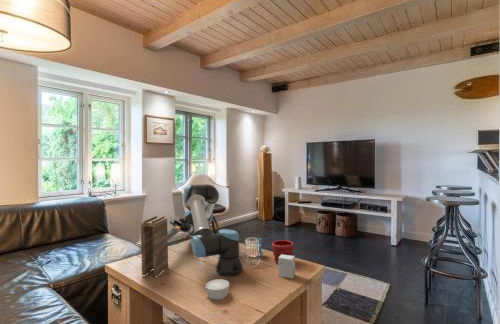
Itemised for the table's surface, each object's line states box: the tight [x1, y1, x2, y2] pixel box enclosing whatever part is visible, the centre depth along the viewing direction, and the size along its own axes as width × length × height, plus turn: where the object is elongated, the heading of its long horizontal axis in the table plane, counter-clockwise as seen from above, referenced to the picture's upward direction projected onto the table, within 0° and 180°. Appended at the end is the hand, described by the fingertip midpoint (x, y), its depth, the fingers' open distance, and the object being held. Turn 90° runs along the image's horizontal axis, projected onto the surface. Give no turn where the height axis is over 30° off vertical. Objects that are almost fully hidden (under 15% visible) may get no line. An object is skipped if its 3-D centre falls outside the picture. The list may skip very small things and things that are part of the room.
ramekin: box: [205, 278, 230, 301], centre depth 126 cm, size 11×11×5 cm
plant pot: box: [271, 239, 294, 264], centre depth 164 cm, size 13×13×12 cm
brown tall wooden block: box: [140, 215, 169, 277], centre depth 152 cm, size 9×13×31 cm
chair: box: [252, 236, 263, 258], centre depth 175 cm, size 8×8×12 cm
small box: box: [277, 254, 296, 279], centre depth 145 cm, size 8×6×10 cm
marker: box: [167, 226, 181, 241], centre depth 172 cm, size 3×21×3 cm, turn 170°
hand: (173, 218), depth 176 cm, fingers open, 5 cm apart
